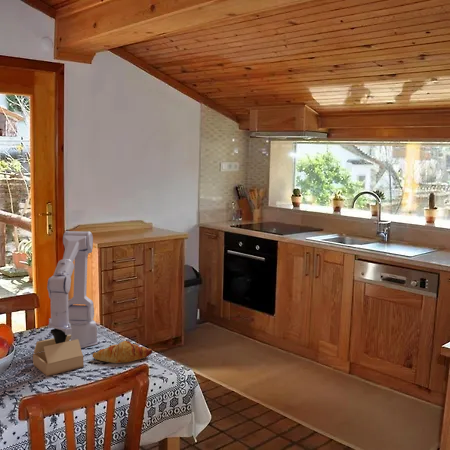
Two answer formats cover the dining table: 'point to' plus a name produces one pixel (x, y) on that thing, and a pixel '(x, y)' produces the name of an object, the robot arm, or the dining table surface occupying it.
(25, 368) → the dining table surface
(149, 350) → the croissant
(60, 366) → the carton
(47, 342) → the flap
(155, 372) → the dining table surface
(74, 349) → the flap
